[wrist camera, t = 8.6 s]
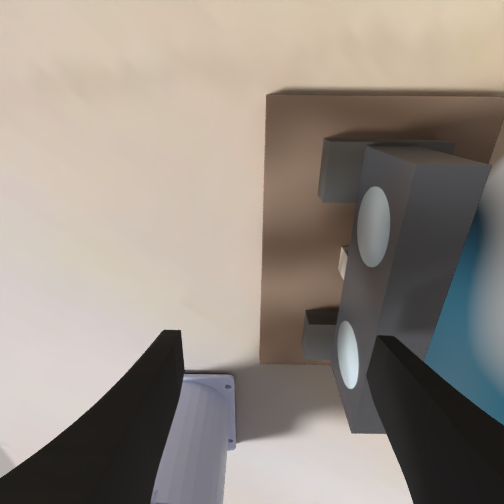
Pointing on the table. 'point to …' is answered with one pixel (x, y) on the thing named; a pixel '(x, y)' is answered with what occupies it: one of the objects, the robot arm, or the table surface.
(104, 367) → the table surface
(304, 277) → the display stand
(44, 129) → the table surface
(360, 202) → the long gray beam
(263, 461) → the table surface
